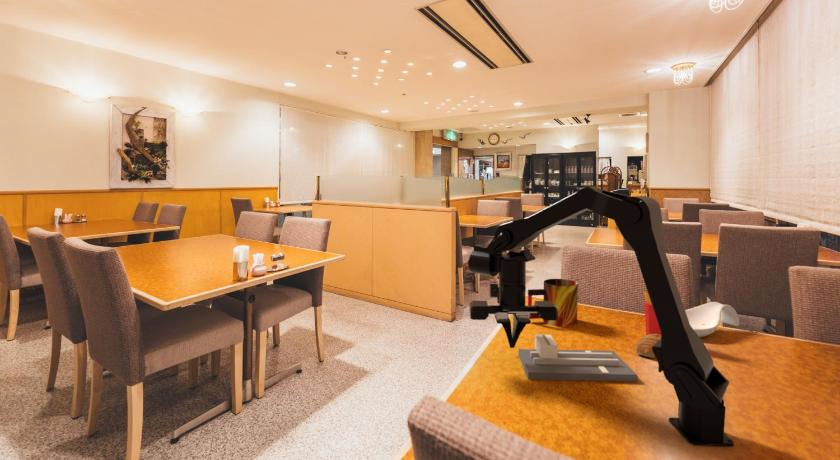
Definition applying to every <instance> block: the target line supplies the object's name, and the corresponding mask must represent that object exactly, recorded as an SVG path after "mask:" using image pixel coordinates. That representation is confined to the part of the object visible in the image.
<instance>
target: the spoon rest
mask: <svg viewBox="0 0 840 460" xmlns="http://www.w3.org/2000/svg"><path fill="white" fill-rule="evenodd" d="M685 312H686V315H687V318H688V320H689V323H690V325H691V327H692V329H693V330H694V331H695V332H696V333H697V335H698V336H699V337H700V338H705V337H706V336H709V335H711V334H713V333H714V332H715V331H716V330H717V329H718V327H719V325H720V323H721V322H722V323H724V324H728V325H731V326H735V327H739V326H740V319H739V316H738V313H737V311H736V309H735V308H734V307H733V306H732V305H730V304H723V303H720V302H718V301H709V302H706V303H704V304H700V305H698V306H694V307H690V308H689V309H685ZM702 324H705V325H702Z"/></svg>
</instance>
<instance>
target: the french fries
mask: <svg viewBox="0 0 840 460" xmlns="http://www.w3.org/2000/svg"><path fill="white" fill-rule="evenodd" d="M643 295H644V300H645V302H643V303H644V304H643V305H644V318H645V321H644V322H645V336H646V335H649V334H659V335H661V331H660V328H659V325H658V322H657V319H656V316H655V312H654V309H653V306H652V303H651V300H650V297H649V294H648V291H647V290H646V291H643ZM681 300H682V303H683V304H684V299H683V298H681Z"/></svg>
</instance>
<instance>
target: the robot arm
mask: <svg viewBox="0 0 840 460" xmlns="http://www.w3.org/2000/svg"><path fill="white" fill-rule="evenodd" d="M586 211H592V212H593V213H596V214H598V215H599V216H602V217H603V218H608V219H610V220H612V221H614V223H615V225H616V226H617V229H618V231H619V232H620V234H621V237H623V239H624V240H625V241H626V242H627V244H628V245H629V246H630V248H632V250H633V252H634V254H635V257H636V259H637V264H638V265H639V269H640V272H641V276H642V278H643V279H642V280H643V282H644V285H645V287H646V291H648V294H649V297H650V300H651V303H652V306H653V309H654V312H655V316H656V319H657V322H658V325H659V328H660V331H661V339H660V340H659V341H658V342H657V343H656V344H655V345H654V346H653V347H652V350H653V353H654V355H655V357H656V358H655V359H656V361H657V365H658V371H657V372H658V373H662V372H663V376H664V378H665V379H666V381H667V382H668V383H669V384H671V385H672V386H673V389H674V393H675V394H676V397H677V400H678V409H677V410H678V412H677V416H678V417H668V422H669V423H670V424H671V425H672V426H673V427H674V428H675V430H676V431H678V433H679V434H680V435H681V436H682V437H683V438H684V440H686V441H687V442H688V443H689V444H691V445H697V446H699V445H702V446H730V447H731V446H733V447H734V444H735V442H734V441H733V440H732V439H731V438H730V437H729V436H728V435H727V434H726V433H725V423H726V406H725V399H723V398H724V396H725V394H726V392H727V389H728V388H729V385H730V381H729V380H728V379H727V378H726V376H725V375H723V373H722V372H721V371H719V369H718V368H717V367H716V366H715V365H714V359H713V358H712V356H711V354H710V352H709V351H708V349H707V346H706V345H705V343H704V341H703V339H702V337H699V336H698V335H697V333H696V332H695V331H694V330H693V329H692V327H691V325H690V323H689V320H688V318H687V315H686V312H685V310H686V309H685V307H684V302H683V303H682V300H681V299H682V297H681V295H680V291H679V288H678V285H677V283H676V280H675V277H674V274H673V271H672V268H671V265H670V262H669V259H668V256H667V253H666V249H665V248H664V244H663V241H664V239H663V238H664V237H663V236H664V225H663V217H662V209H661V206H660V204H659V202H658V201H657V200H656V199H655V198H652V197H650V196H647V195H636V196H635V195H634V196H629V195H625V194H620V193H615V192H614V191H613V192H612V191H608V190H604V189H601V188H600V187H598V186H583V187H580V188H579V189H578V190H577V191H575V192H574V193H571V194H570V195H568V196H566V197H564V198H562V199H560V200H558V201H557V202H555V203H552V204H551V205H548V206H547V207H545V208H543V209H541V210H539V211H537V212H535V213H534V214H532V215H530V216H527V217H523V218H519V219H516V220H512V221H509V222H508V221H507V222H504V223H501V224H499V225H498V226H497V227H496V229H495V232H494V237H493V238H492V240H491V241H490V242H489V244H488V245H487V246H486V245H484V244H476V245H473V250H472V251H471V253H470V254H469V258H468V260H467V264H468V265H467V266H468V269H469V271H470V272H471V273H472V274H478V275H484V276H489V277H490V276H491V277H496V276H497V275H498V283H489V298H495V299H496V302H497V304H498V305H497V304H496V305H489V304H488V301H487V300H471V301H470V302H469V306H468V307H469V317H470V320H473V321H481V320H483V321H485V320H487V319H488V318H489V315H494V318H495V321H496V324H499V325H500V324H501V325H502V328H503V330H504V332H505V335H506V339H507V342H508V345H509V348H510V349H514V348H515V347H516V344H517V342H518V340H519V338H520V336H521V333H522V332H523V330H524V329H525V327H526V325H530V324H531V323H532V322H531V321H532V320H531V319H529V316H530V314H540V317H541V318H540V319H542V321H543V320H558V310H557V308H556V307H555V306H554V305H553V304H552V303H551V302H550V301H543V300H535V301H534V303H533V305H532V306H528V305H526V291H527V290H526V289H527V287H526V282H527V280H526V277H527V273H526V272H527V270H526V269H527V268H526V263H527V262H528V263H529V262H532V261H534V260H536V256H534V254H532V253H531V252H530V251H529V249H528V248H525V249H521V251H513V250H515V249H520V248H524V247H526V246H528V245H529V244H530V243H532V242H533V241H535V240H536V239H537V238H538V237H539V236H540V235H541V234H542V233H543V232H545V231H547V230H549V229H551V228H553V227H555V226H557V225H559V224H562V223H564V222H567V221H568V220H570V219H572V218H574V217H577V216H578V215H581V214H583V213H585V212H586ZM507 251H508V252H507ZM503 252H507V253H506V254H505V253H503ZM509 315H513V317H512V319H513V323H512V321H511V320H510V317H509ZM511 323H512V324H511Z"/></svg>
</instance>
